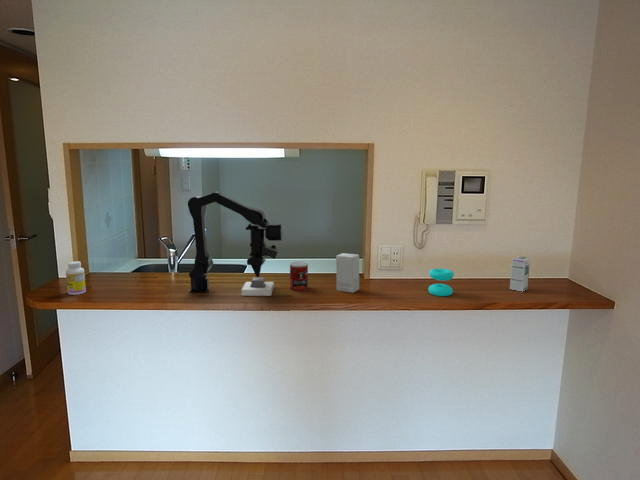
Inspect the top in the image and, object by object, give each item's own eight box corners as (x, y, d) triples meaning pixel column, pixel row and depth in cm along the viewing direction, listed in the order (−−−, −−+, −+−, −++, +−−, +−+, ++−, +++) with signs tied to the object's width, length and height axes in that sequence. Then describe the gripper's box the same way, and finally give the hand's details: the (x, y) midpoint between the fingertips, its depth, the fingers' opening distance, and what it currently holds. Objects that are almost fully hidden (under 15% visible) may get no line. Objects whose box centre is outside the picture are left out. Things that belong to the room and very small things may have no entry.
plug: (251, 291, 185) (251, 279, 184) (253, 288, 189) (252, 277, 188) (263, 291, 185) (263, 279, 184) (264, 288, 189) (264, 277, 188)
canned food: (292, 291, 187) (292, 266, 185) (288, 286, 195) (288, 262, 193) (309, 290, 189) (309, 265, 187) (305, 285, 197) (305, 261, 195)
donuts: (433, 266, 192) (456, 269, 187) (432, 288, 194) (455, 292, 188) (426, 271, 184) (450, 274, 178) (424, 294, 185) (448, 298, 180)
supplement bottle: (65, 293, 182) (62, 262, 179) (82, 289, 187) (79, 259, 184) (71, 296, 177) (68, 265, 175) (88, 292, 182) (86, 262, 180)
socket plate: (241, 295, 181) (241, 289, 180) (246, 287, 193) (246, 281, 192) (271, 295, 181) (270, 289, 181) (273, 287, 193) (273, 282, 192)
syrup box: (522, 292, 189) (526, 259, 187) (509, 289, 193) (511, 257, 191) (527, 290, 193) (530, 257, 191) (513, 287, 197) (516, 255, 195)
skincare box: (359, 289, 191) (360, 254, 188) (352, 293, 185) (353, 257, 183) (342, 286, 195) (343, 252, 192) (335, 290, 190) (335, 254, 187)
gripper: (274, 244, 174) (275, 283, 177) (278, 236, 192) (278, 271, 195) (246, 244, 174) (247, 282, 176) (253, 236, 192) (253, 271, 195)
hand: (257, 276), depth 186 cm, fingers closed
